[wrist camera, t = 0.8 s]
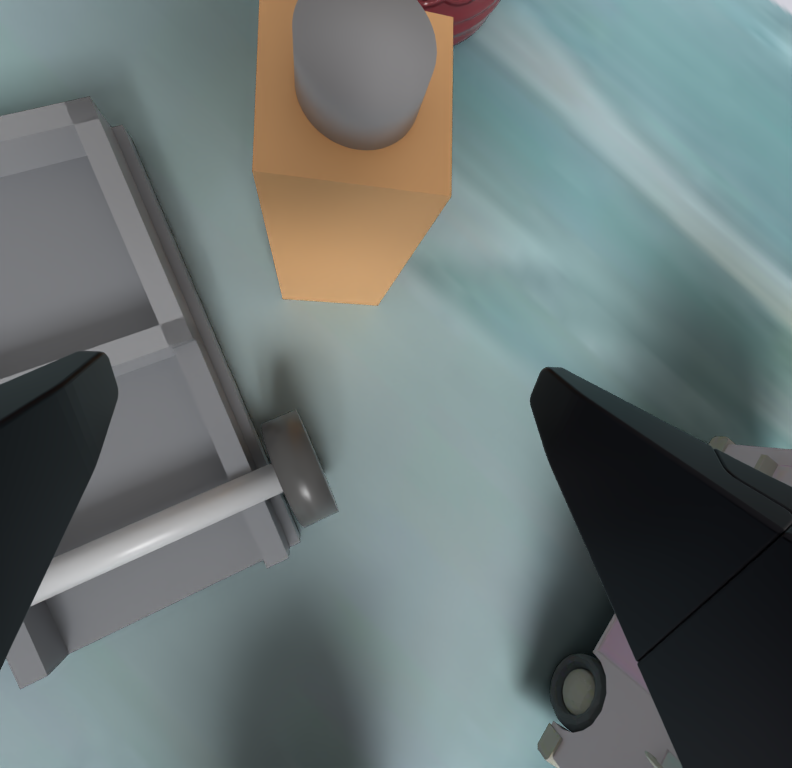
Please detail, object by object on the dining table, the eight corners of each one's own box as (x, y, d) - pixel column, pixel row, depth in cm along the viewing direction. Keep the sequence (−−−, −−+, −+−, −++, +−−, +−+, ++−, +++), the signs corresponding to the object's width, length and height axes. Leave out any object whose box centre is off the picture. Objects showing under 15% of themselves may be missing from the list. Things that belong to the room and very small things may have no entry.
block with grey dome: (377, 305, 23) (473, 164, 10) (282, 298, 22) (242, 130, 9) (379, 216, 23) (474, -41, 10) (285, 205, 22) (252, -98, 9)
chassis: (342, 515, 22) (352, 547, 17) (-12, 685, 18) (-130, 787, 13) (178, 126, 21) (139, 41, 16) (-220, 224, 18) (-423, 154, 13)
